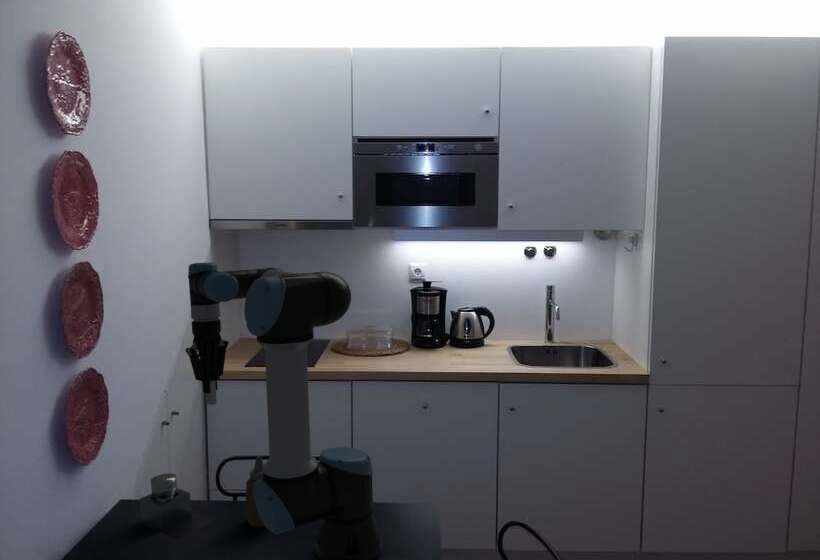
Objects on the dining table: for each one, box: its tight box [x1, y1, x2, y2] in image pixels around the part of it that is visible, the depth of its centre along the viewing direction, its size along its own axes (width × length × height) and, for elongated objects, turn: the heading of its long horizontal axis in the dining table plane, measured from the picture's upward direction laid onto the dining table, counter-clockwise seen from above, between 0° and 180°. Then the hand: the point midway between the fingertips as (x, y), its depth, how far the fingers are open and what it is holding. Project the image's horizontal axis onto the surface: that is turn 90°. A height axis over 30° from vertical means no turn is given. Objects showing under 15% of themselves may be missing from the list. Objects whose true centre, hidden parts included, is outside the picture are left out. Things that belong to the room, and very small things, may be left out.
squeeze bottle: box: [244, 455, 267, 529], centre depth 149 cm, size 8×8×18 cm
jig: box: [138, 488, 214, 540], centre depth 151 cm, size 16×10×7 cm, turn 58°
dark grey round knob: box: [150, 472, 178, 502], centre depth 153 cm, size 6×6×10 cm
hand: (211, 403), depth 165 cm, fingers closed
